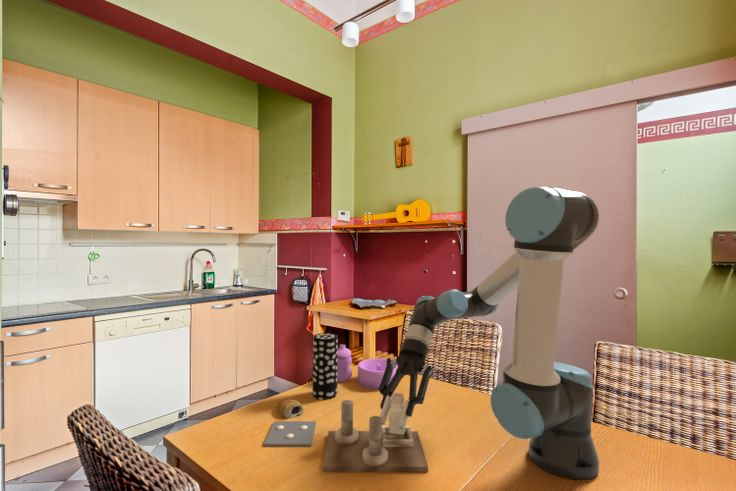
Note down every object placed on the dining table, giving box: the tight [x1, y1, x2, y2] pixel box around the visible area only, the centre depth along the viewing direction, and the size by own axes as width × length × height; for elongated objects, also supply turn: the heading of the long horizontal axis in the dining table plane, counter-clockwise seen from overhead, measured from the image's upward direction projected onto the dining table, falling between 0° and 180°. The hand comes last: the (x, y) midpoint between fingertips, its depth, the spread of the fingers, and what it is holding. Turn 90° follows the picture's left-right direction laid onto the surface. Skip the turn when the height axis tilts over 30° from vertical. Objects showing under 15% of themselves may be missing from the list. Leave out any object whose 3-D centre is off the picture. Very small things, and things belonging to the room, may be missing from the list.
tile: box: [263, 420, 317, 447], centre depth 102 cm, size 12×12×1 cm
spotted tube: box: [312, 332, 339, 401], centre depth 128 cm, size 8×8×20 cm
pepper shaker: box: [388, 392, 405, 435], centre depth 98 cm, size 4×4×10 cm
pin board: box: [322, 399, 429, 473], centre depth 94 cm, size 24×16×11 cm, turn 91°
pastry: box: [277, 399, 305, 419], centre depth 116 cm, size 9×7×4 cm
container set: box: [337, 344, 398, 391], centre depth 142 cm, size 25×15×13 cm, turn 85°
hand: (391, 425), depth 95 cm, fingers closed on pepper shaker, 5 cm apart
